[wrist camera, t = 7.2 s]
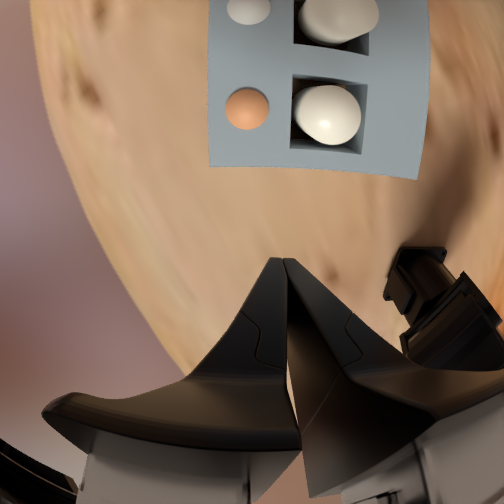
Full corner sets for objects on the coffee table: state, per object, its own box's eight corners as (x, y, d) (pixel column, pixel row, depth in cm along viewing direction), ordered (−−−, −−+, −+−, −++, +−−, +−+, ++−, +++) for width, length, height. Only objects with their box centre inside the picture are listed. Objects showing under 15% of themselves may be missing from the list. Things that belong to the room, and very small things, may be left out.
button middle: (351, 5, 11) (377, -12, 8) (352, 50, 13) (379, 41, 10) (297, -4, 11) (311, -28, 8) (297, 41, 13) (311, 27, 10)
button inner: (340, 90, 16) (363, 90, 13) (337, 136, 18) (358, 147, 15) (291, 84, 16) (302, 81, 13) (289, 132, 18) (299, 142, 15)
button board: (394, -42, 9) (418, -57, 5) (391, 164, 20) (418, 180, 16) (221, -69, 9) (216, -95, 5) (216, 153, 19) (209, 168, 16)
